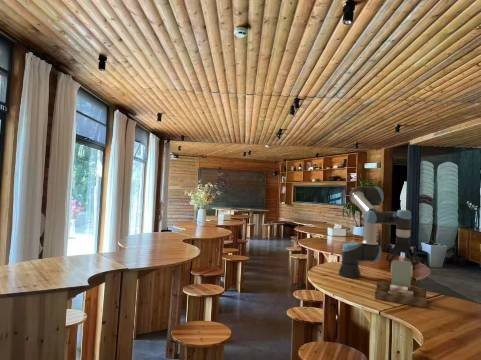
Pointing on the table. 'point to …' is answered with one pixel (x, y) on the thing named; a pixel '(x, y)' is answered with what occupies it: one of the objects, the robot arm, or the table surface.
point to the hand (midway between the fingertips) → (401, 274)
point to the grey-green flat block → (401, 273)
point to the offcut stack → (400, 290)
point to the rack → (416, 300)
